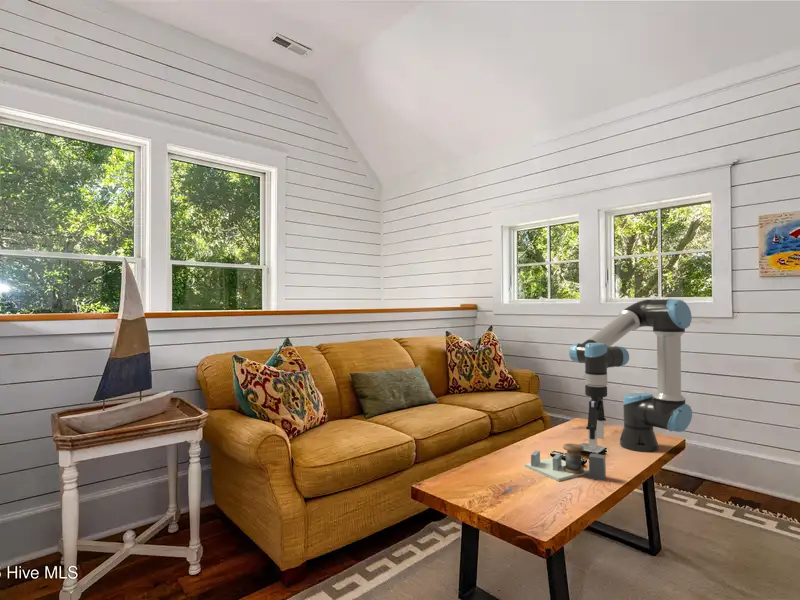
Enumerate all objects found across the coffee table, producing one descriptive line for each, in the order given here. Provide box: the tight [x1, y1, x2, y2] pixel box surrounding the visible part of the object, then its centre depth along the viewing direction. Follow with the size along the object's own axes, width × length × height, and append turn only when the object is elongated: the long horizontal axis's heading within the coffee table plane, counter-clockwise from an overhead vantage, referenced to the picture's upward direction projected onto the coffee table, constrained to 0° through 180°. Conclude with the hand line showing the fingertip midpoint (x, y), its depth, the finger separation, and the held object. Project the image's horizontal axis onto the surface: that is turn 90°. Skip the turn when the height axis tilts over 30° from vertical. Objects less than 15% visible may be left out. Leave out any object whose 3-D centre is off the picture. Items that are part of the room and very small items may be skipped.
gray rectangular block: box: [588, 452, 607, 481], centre depth 176 cm, size 4×5×8 cm
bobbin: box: [562, 443, 584, 474], centre depth 180 cm, size 7×7×9 cm
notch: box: [530, 450, 562, 471], centre depth 185 cm, size 6×10×4 cm, turn 58°
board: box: [524, 456, 589, 482], centre depth 184 cm, size 16×18×1 cm
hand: (596, 442), depth 175 cm, fingers open, 13 cm apart
